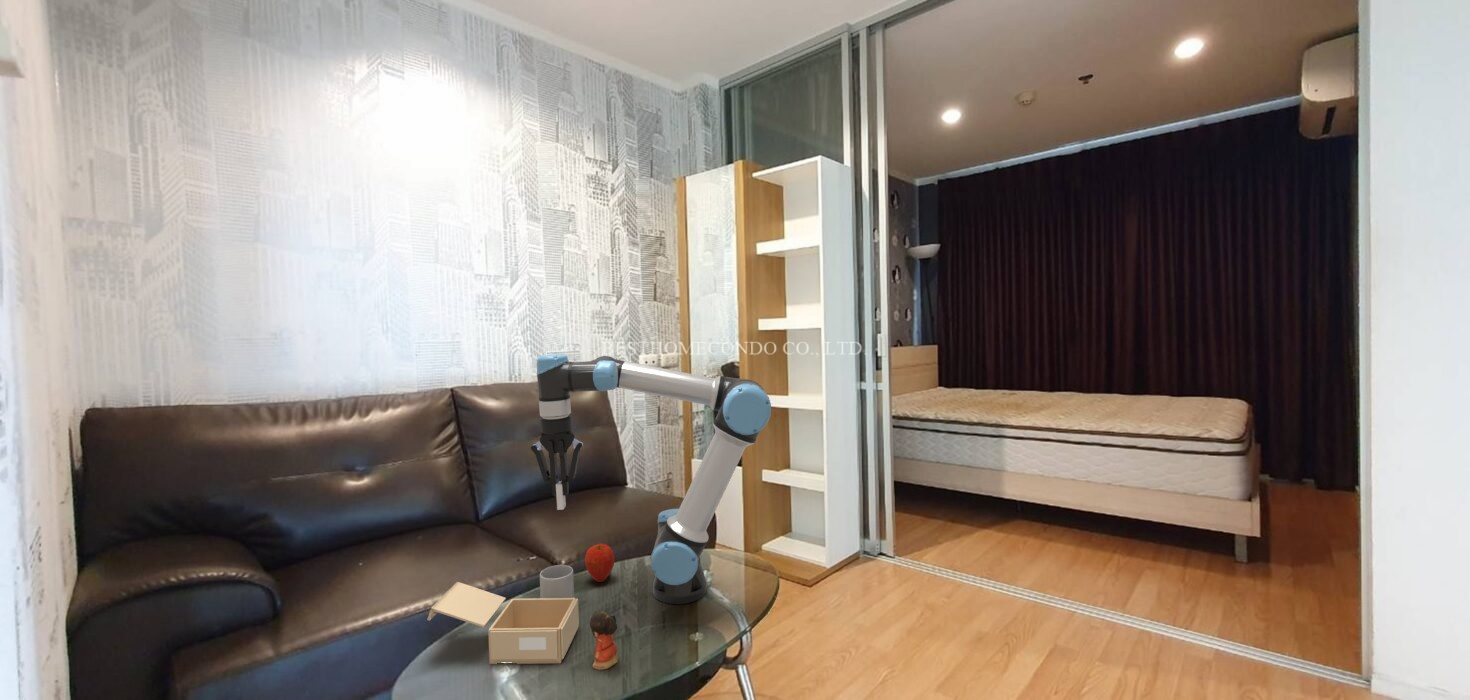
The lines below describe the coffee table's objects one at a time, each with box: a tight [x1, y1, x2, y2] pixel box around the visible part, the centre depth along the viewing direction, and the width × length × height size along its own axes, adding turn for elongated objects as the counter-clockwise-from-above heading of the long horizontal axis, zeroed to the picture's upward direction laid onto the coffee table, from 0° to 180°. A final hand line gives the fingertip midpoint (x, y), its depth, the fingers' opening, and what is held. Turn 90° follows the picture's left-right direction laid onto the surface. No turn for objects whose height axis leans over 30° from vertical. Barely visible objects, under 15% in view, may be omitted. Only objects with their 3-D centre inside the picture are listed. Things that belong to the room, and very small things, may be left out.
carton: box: [488, 597, 580, 665], centre depth 138 cm, size 16×15×8 cm
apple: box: [584, 543, 615, 583], centre depth 171 cm, size 9×8×11 cm
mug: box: [539, 564, 575, 598], centre depth 155 cm, size 12×8×11 cm
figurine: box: [589, 610, 619, 671], centre depth 131 cm, size 6×6×12 cm
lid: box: [426, 581, 507, 628], centre depth 137 cm, size 12×13×3 cm
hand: (561, 507), depth 148 cm, fingers closed
